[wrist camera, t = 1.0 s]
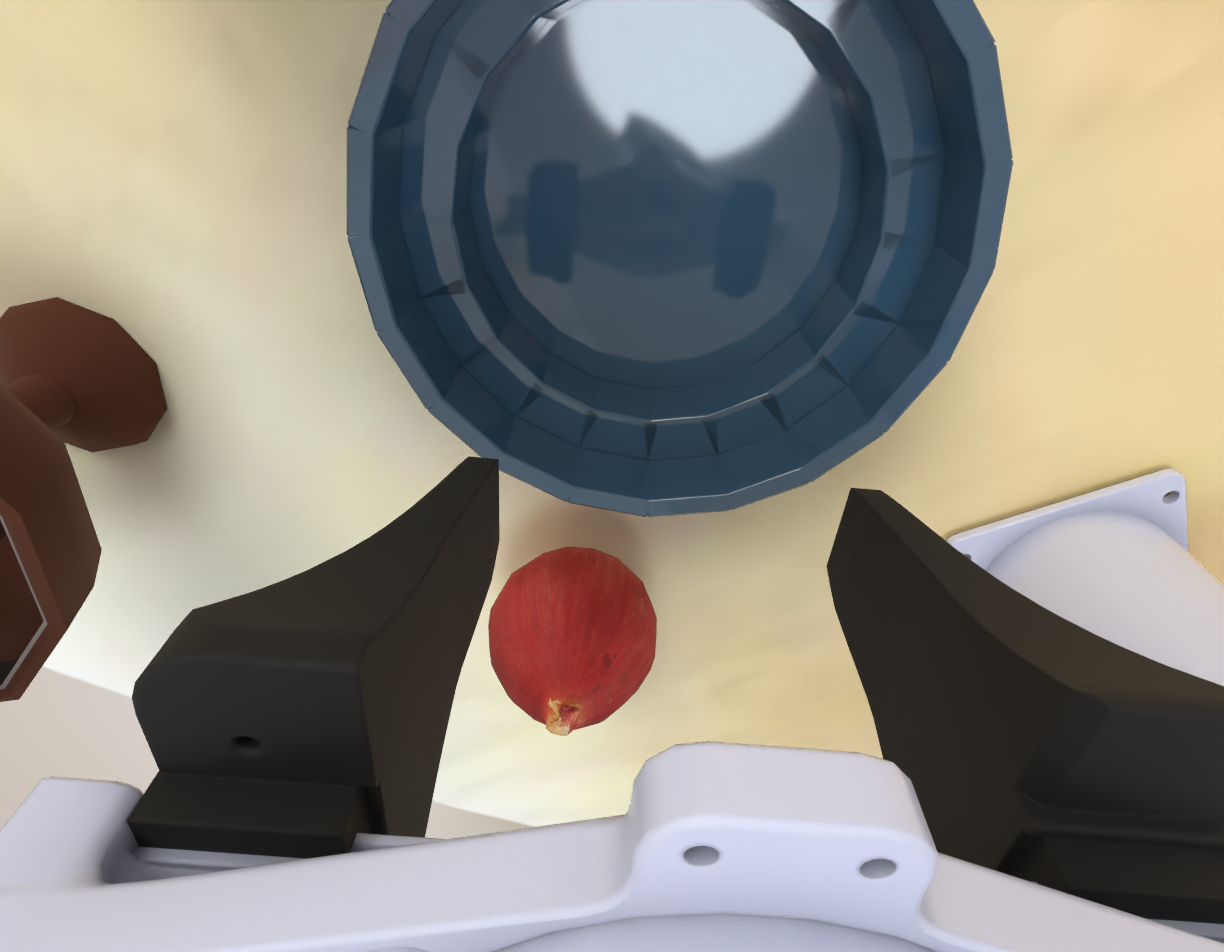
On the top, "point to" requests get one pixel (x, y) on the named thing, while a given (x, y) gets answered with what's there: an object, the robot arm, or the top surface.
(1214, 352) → the top surface
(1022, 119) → the top surface
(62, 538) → the ice cream bowl
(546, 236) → the bowl
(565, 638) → the pomegranate
